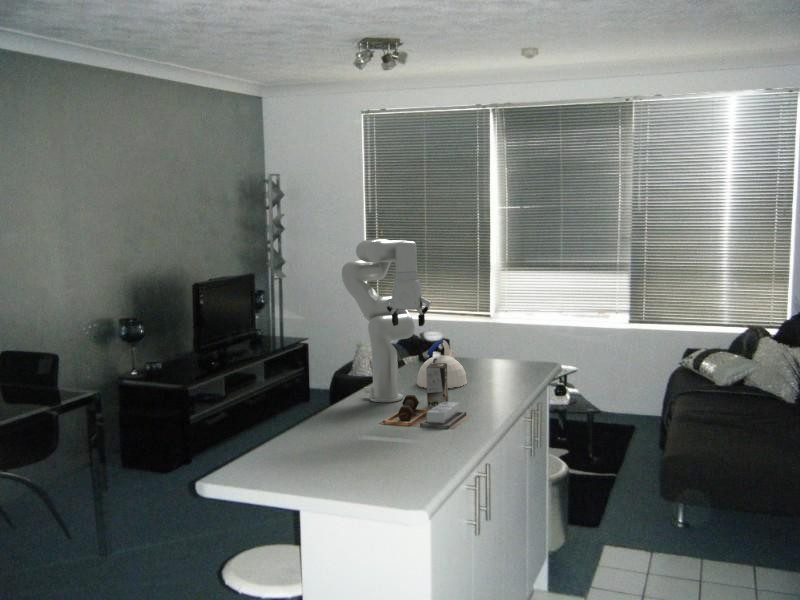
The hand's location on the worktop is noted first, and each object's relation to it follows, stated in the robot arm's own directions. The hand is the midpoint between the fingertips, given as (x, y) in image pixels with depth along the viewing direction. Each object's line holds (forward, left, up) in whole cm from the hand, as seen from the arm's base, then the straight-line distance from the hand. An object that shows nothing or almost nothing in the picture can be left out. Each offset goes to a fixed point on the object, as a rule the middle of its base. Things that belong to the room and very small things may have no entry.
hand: (408, 325), depth 283 cm
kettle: (-5, +45, -31) cm, 55 cm away
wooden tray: (+11, -15, -30) cm, 35 cm away
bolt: (+4, -14, -29) cm, 32 cm away
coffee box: (+9, +3, -31) cm, 32 cm away
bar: (+18, -15, -29) cm, 37 cm away
